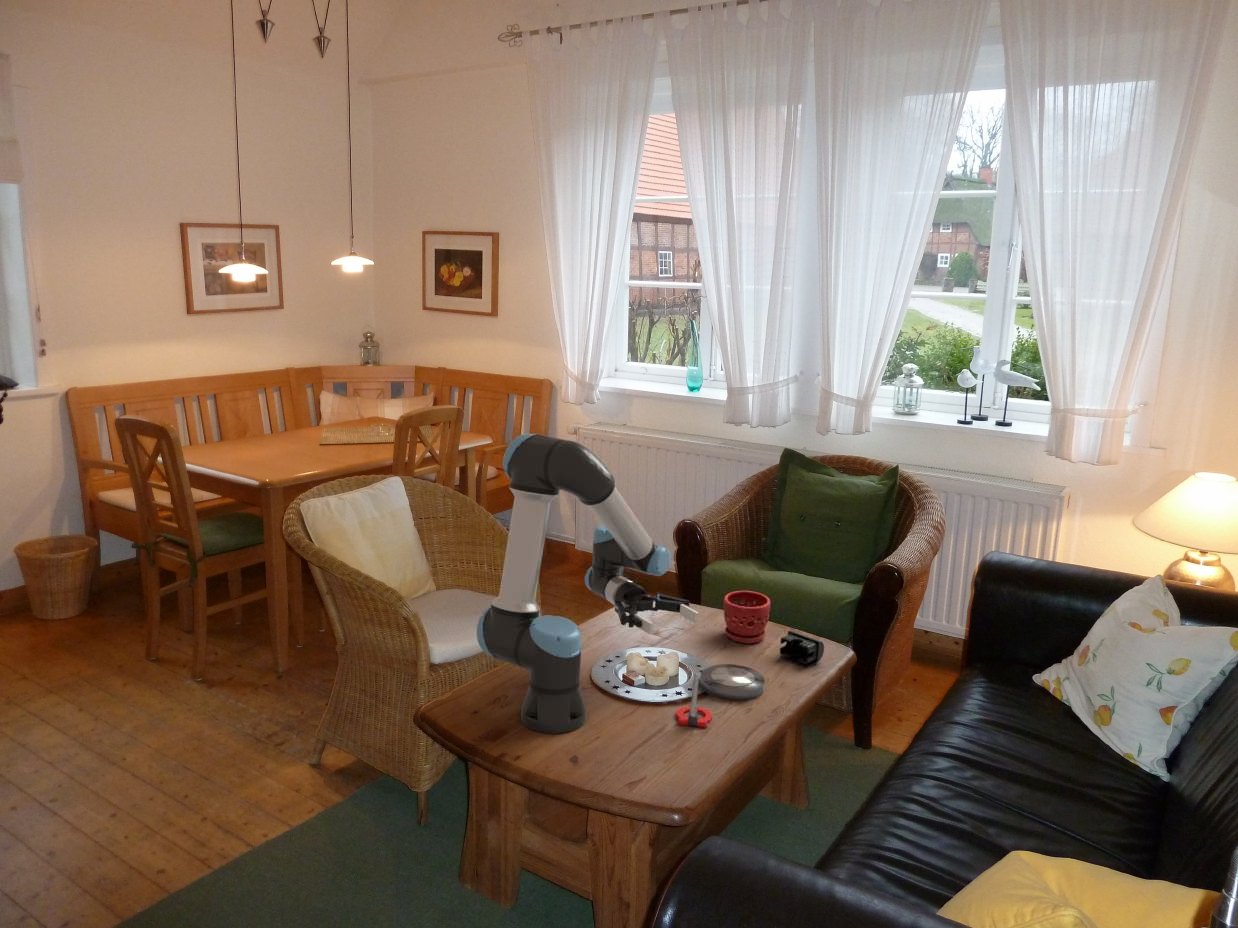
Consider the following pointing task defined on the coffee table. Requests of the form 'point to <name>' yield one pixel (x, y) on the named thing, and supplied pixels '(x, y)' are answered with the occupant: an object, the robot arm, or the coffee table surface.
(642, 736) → the coffee table surface
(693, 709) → the tow hook
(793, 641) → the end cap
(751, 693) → the rosette plate
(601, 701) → the coffee table surface
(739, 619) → the plant pot
